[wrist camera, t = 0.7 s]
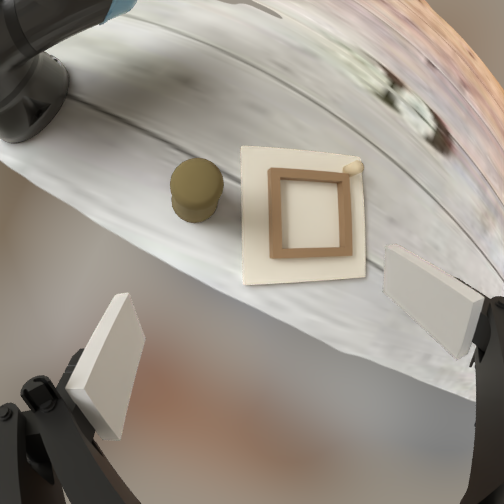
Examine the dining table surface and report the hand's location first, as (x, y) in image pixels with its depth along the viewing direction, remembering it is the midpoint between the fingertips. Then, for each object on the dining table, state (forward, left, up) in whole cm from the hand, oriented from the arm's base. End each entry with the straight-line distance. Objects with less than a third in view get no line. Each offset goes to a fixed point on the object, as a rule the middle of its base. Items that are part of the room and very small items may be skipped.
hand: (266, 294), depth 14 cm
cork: (-8, -3, -24) cm, 26 cm away
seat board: (-6, +12, -24) cm, 27 cm away
